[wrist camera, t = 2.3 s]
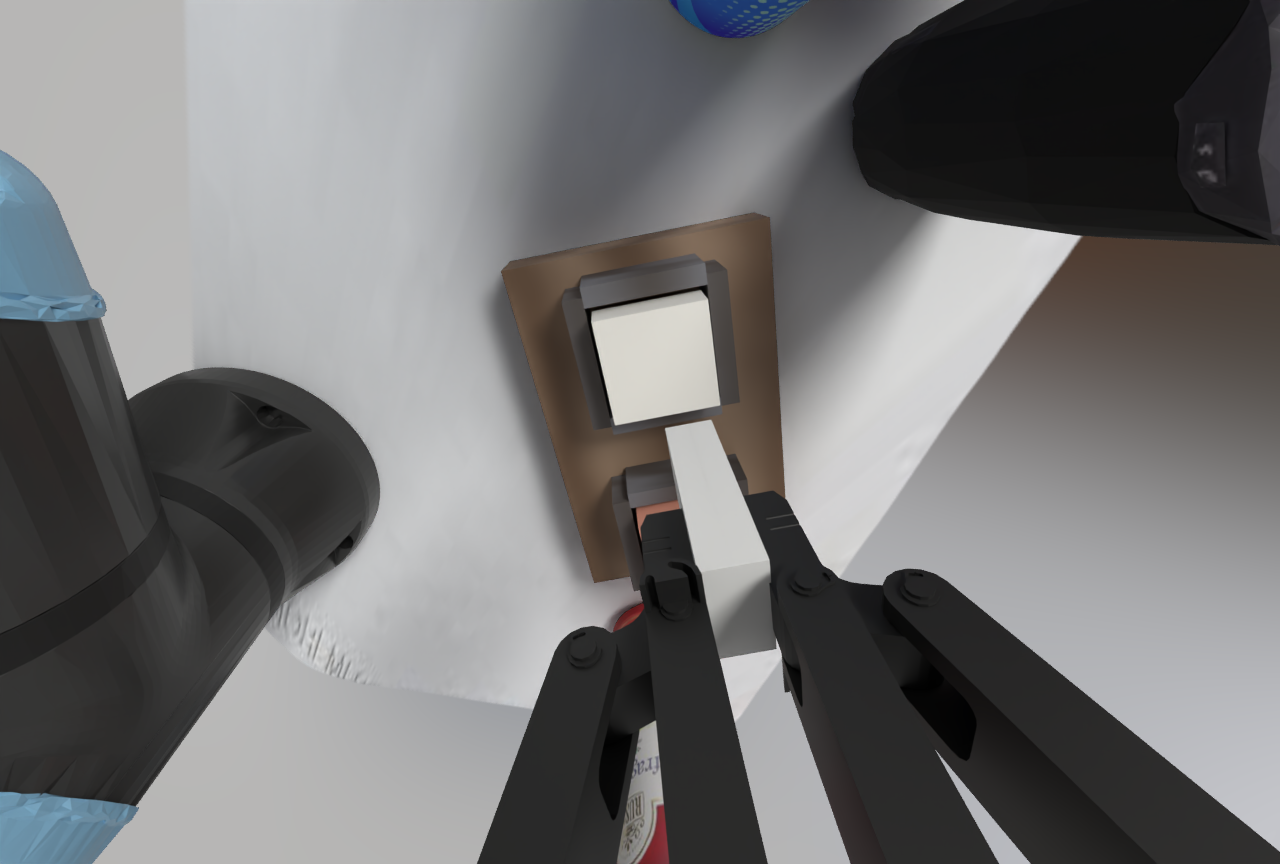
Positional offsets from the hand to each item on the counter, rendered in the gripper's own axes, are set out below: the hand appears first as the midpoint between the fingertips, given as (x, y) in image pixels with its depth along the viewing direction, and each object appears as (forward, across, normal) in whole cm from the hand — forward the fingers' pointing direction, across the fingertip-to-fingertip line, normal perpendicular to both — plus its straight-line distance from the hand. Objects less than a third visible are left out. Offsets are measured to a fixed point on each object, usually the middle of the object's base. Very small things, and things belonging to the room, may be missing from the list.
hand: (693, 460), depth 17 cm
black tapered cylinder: (+17, +16, +8) cm, 24 cm away
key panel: (+16, 0, -6) cm, 17 cm away
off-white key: (+11, 0, 0) cm, 11 cm away
